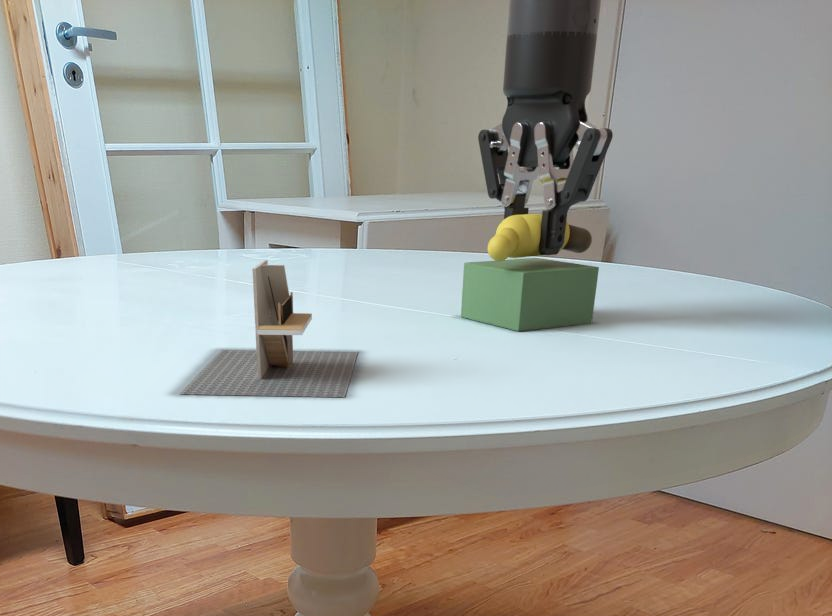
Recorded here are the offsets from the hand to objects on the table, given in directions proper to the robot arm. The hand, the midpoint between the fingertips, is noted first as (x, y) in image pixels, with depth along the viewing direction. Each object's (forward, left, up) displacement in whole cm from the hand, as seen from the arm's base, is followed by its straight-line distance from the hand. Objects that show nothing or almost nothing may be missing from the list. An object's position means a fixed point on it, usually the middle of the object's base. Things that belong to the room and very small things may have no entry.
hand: (531, 251), depth 83 cm
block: (0, 0, -6) cm, 6 cm away
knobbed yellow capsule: (0, -1, 0) cm, 1 cm away
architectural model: (+26, +19, -6) cm, 33 cm away
